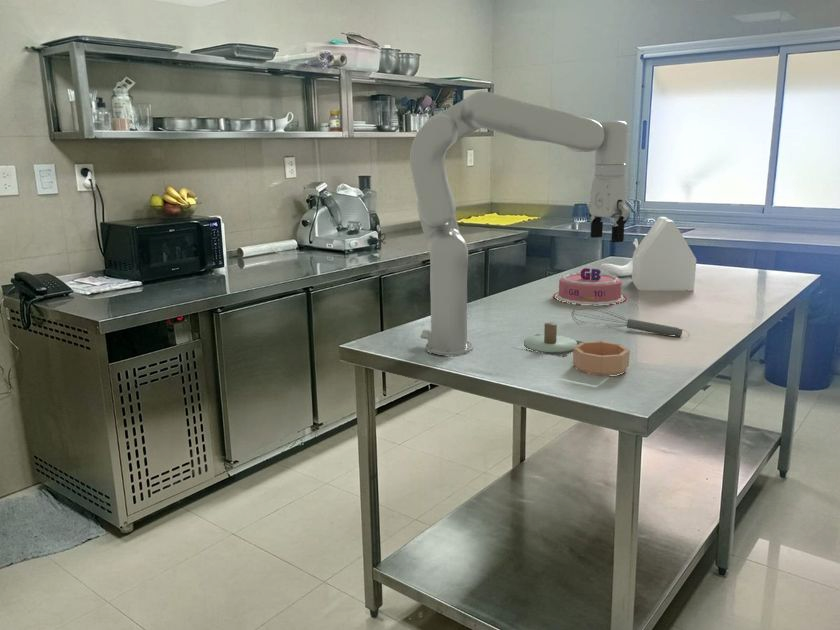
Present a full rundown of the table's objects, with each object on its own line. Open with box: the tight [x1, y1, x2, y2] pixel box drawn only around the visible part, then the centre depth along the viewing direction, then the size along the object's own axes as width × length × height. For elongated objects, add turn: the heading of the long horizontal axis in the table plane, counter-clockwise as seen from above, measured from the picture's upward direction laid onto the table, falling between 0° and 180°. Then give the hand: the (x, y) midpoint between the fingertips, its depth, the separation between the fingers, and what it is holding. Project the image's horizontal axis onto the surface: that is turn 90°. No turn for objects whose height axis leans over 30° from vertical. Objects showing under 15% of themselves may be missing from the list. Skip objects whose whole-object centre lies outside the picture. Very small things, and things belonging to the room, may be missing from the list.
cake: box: [552, 267, 628, 306], centre depth 232 cm, size 25×25×11 cm
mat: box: [534, 333, 583, 358], centre depth 178 cm, size 15×15×1 cm
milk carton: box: [631, 216, 697, 292], centre depth 246 cm, size 19×15×25 cm
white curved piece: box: [600, 238, 639, 277], centre depth 267 cm, size 5×19×15 cm, turn 113°
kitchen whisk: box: [571, 305, 690, 337], centre depth 192 cm, size 6×34×6 cm, turn 57°
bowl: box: [572, 340, 631, 376], centre depth 159 cm, size 12×12×5 cm
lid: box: [523, 322, 577, 353], centre depth 177 cm, size 14×14×6 cm
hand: (606, 239), depth 172 cm, fingers open, 9 cm apart
